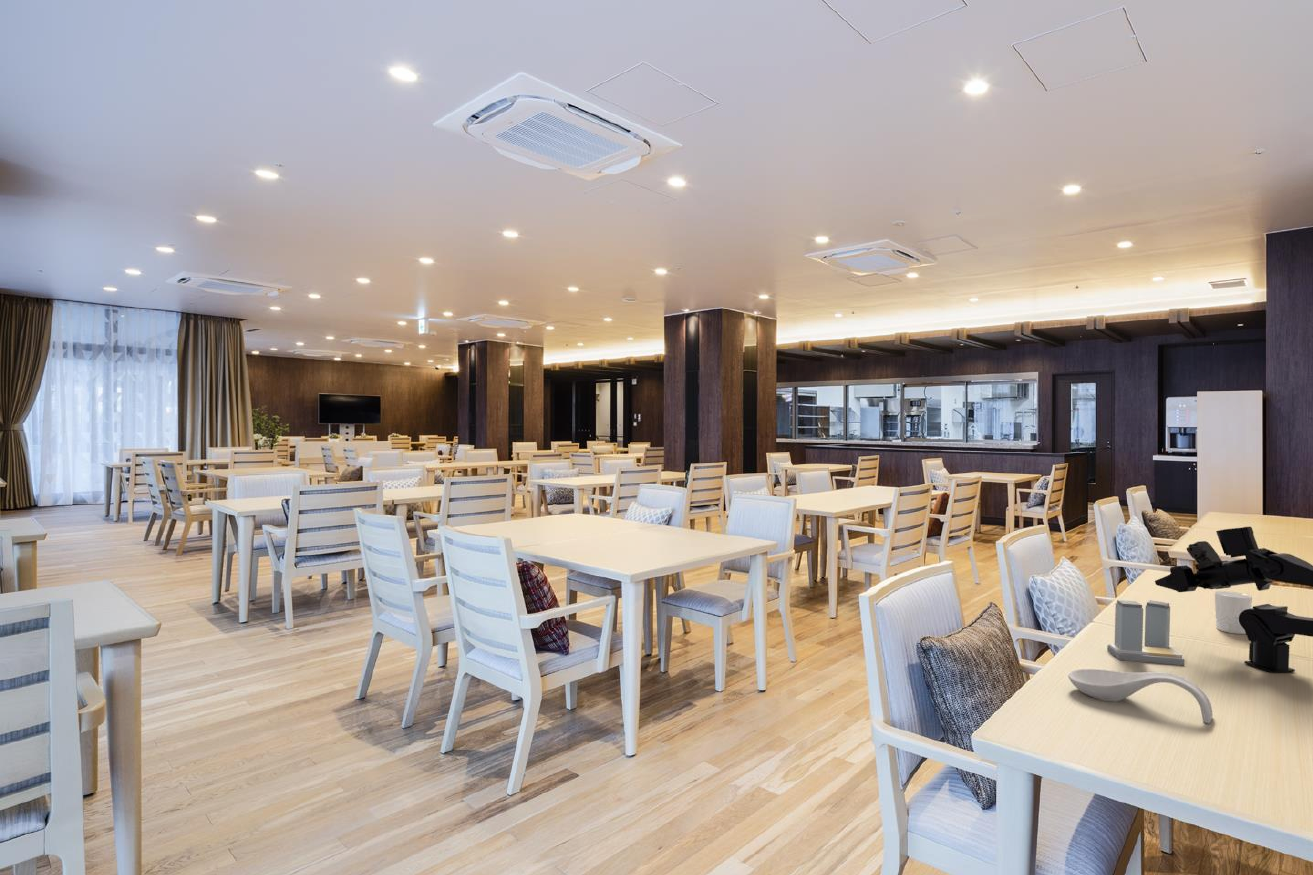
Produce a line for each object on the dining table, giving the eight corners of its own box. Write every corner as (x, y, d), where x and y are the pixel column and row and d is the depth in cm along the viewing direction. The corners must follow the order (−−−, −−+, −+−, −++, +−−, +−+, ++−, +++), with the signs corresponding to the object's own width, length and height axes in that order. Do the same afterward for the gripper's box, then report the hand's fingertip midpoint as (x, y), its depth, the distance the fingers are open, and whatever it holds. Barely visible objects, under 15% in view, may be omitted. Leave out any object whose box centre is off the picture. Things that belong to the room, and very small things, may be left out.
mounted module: (1135, 646, 170) (1136, 601, 169) (1142, 651, 166) (1143, 605, 166) (1114, 644, 171) (1115, 599, 171) (1121, 649, 167) (1122, 603, 167)
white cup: (1258, 635, 188) (1260, 598, 188) (1229, 634, 188) (1230, 597, 188) (1235, 626, 196) (1236, 591, 195) (1206, 626, 196) (1207, 590, 196)
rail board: (1170, 655, 169) (1170, 647, 169) (1184, 665, 162) (1184, 656, 162) (1107, 650, 172) (1107, 642, 172) (1118, 659, 166) (1118, 651, 166)
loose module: (1169, 646, 177) (1170, 603, 176) (1165, 649, 174) (1167, 605, 174) (1148, 642, 180) (1149, 599, 179) (1144, 645, 177) (1145, 602, 177)
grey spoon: (1061, 695, 143) (1062, 661, 143) (1075, 681, 152) (1076, 648, 152) (1208, 731, 127) (1209, 692, 127) (1214, 712, 136) (1215, 676, 136)
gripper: (1244, 538, 174) (1179, 549, 188) (1197, 540, 167) (1134, 552, 180) (1260, 584, 171) (1193, 592, 184) (1213, 588, 163) (1147, 596, 177)
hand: (1167, 581), depth 182 cm, fingers open, 9 cm apart
